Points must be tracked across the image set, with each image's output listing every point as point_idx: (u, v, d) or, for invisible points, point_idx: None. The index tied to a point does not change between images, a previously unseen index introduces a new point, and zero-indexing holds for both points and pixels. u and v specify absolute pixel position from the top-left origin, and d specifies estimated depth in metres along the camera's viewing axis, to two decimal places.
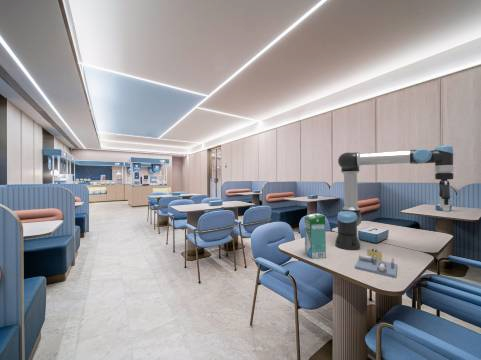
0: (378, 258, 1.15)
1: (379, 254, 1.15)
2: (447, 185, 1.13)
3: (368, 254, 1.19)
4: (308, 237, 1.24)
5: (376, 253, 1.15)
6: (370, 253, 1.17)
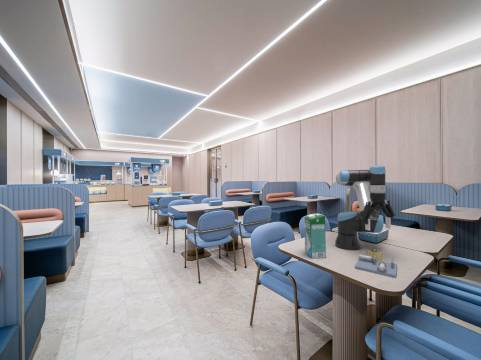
0: (378, 258, 1.15)
1: (379, 254, 1.15)
2: (367, 205, 1.16)
3: (368, 254, 1.19)
4: (308, 237, 1.24)
5: (376, 253, 1.15)
6: (370, 253, 1.17)
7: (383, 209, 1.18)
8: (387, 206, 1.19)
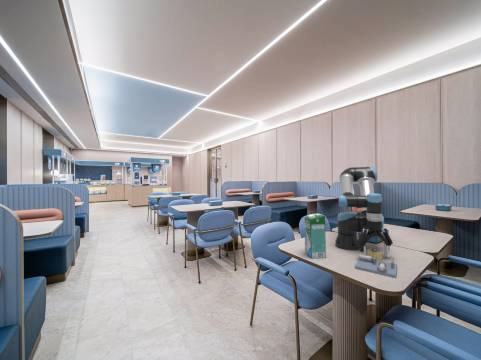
0: (378, 258, 1.15)
1: (379, 254, 1.15)
2: (363, 233, 1.16)
3: (368, 254, 1.19)
4: (308, 237, 1.24)
5: (376, 253, 1.15)
6: (370, 253, 1.17)
7: (380, 237, 1.18)
8: (385, 234, 1.18)
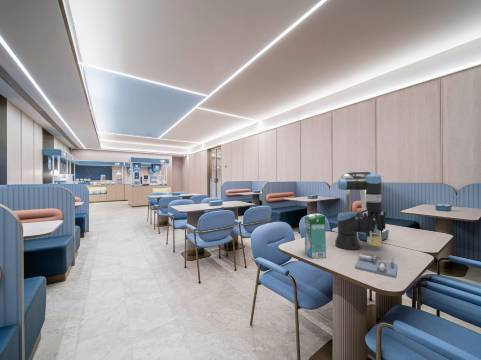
0: (378, 243, 1.16)
1: (379, 239, 1.16)
2: (364, 217, 1.17)
3: None
4: (308, 237, 1.24)
5: (376, 238, 1.15)
6: None
7: (377, 219, 1.18)
8: (381, 217, 1.18)
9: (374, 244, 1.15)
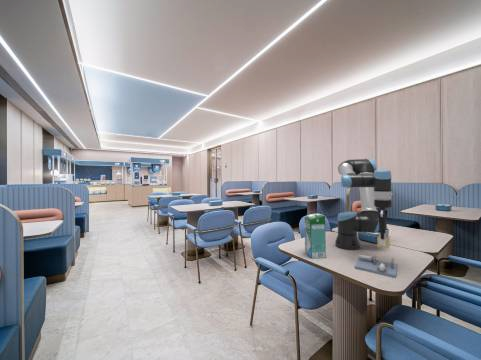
0: (389, 244, 1.06)
1: (389, 239, 1.06)
2: (383, 218, 1.02)
3: None
4: (308, 237, 1.24)
5: (389, 239, 1.05)
6: None
7: None
8: None
9: (389, 246, 1.04)
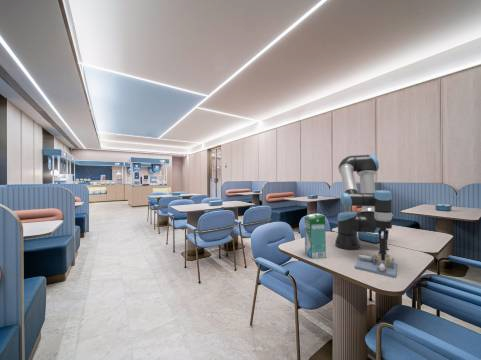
0: None
1: None
2: (383, 239, 1.02)
3: None
4: (308, 237, 1.24)
5: (389, 258, 1.05)
6: None
7: None
8: None
9: (389, 265, 1.04)
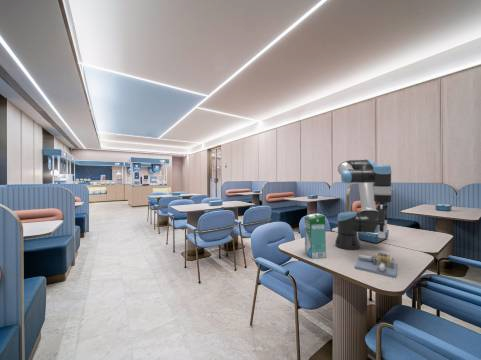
0: None
1: None
2: (382, 209, 1.02)
3: (380, 261, 1.06)
4: (308, 237, 1.24)
5: (389, 258, 1.05)
6: (384, 260, 1.05)
7: None
8: None
9: (389, 265, 1.04)
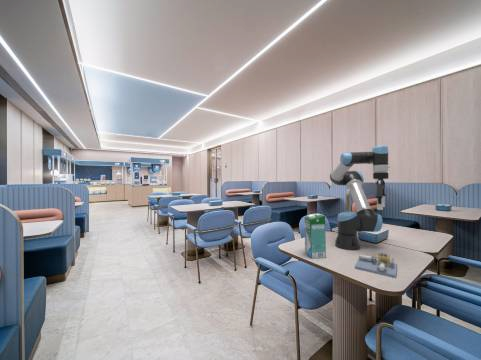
0: None
1: None
2: (380, 184, 1.15)
3: (380, 261, 1.06)
4: (308, 237, 1.24)
5: (389, 258, 1.05)
6: (384, 260, 1.05)
7: None
8: None
9: (389, 265, 1.04)
